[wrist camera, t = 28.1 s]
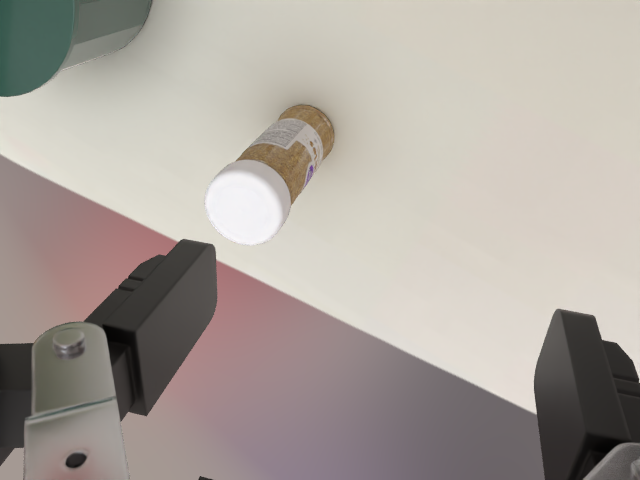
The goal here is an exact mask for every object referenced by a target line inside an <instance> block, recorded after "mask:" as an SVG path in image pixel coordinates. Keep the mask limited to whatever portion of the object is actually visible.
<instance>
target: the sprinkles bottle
mask: <svg viewBox="0 0 640 480" xmlns="http://www.w3.org/2000/svg"><path fill="white" fill-rule="evenodd" d="M333 143H334V132H333V129H332V126H331V123H330V121H329V120H328V119H327V117H326V116H325V115H324V114H323V113H321V112H320V111H319V110H317V109H315V108H313V107H311V106H308V105H298V106H293V107H291V108H289V109H287V110H286V111H285V112H284V113H283V114H281V116H280V117H279V119H278V120H277V121H276V122H275V123H273V124H272V125H271V126H270V127H269V128H268V129H267V130H266V131H265V132H264V133H263V134H262V135H260V136H259V137H258V138H257V139H256V140H255V141H254V142H253V143H252V144H251V145H250V146H249V147H248V148H247V149H246V150H245V151H244V152H243V153H242V155H241V156H240V157H239V158H238V159H237V160H236V161H235V162H233V163H231V164H229V165H227V166H226V167H225V168H224V169H223V170H221V171H220V172H219V173H218V174H217V175H216V177H215V178H214V179H213V180H212V181H211V182H210V184H209V186H208V188H207V190H206V193H205V209H206V213H207V216H208V218H209V220H210V222H211V224H212V225H213V226H214V228H215V229H216V230H217V231H218V232H219V233H220V234H221V235H223V236H224V237H225V238H227V239H229V240H231V241H233V242H235V243H238V244H242V245H258V244H262V243H265V242H267V241H268V240H270V239H271V238H273V237H274V236H275V235H276V234H277V232H278V231H279V230H280V228H281V227H282V226H283V224H284V223H285V221H286V219H287V217H288V215H289V212H290V208H291V205H292V204H293V203H294V201H295V199H296V198H297V196H298V195H299V194H300V193H301V192H302V190H303V189H304V187H305V186H306V185H307V183H308V182H309V180H310V179H311V177H312V176H313V174H314V173H315V172H316V170H317V169H318V167H319V165H320V163H321V161H322V160H323V159H324V158H325V157H326V156H327V155H328V154H329V152H330V151H331V149H332V146H333Z"/></svg>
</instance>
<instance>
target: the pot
mask: <svg viewBox="0 0 640 480" xmlns="http://www.w3.org/2000/svg"><path fill="white" fill-rule="evenodd" d="M151 2H152V0H79V24H78V32H77V36H76V40H75V44H74V47H73V49H72V52H71V54H70V56H69V59H68V60H67V62H66V63H65V65H64V67H63V68H62V70H61V71H63V70H66V69H69V68H72V67H74V66H77V65H80V64H83V63H86V62H89V61H91V60H94V59H97V58H100V57H102V56H105V55H107V54H109V53H112V52H115V51H117V50H119V49H122V48H123V47H125V46H126V45H127V44H128V43H129V42H130V41H131V40H132V39H133V38H134V37H135V36H136V35H137V34H138V32H139V31H140V29H141V28H142V27H143V25H144V23H145V20H146V18H147V16H148V13H149V10H150V7H151Z"/></svg>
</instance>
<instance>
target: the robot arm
mask: <svg viewBox="0 0 640 480" xmlns="http://www.w3.org/2000/svg"><path fill="white" fill-rule="evenodd" d="M216 276H217V275H216V251H215V247H214V245H212V244H208V243H203V242H198V241H192V240H187V239H182V240H181V241H180V242H179V243H178V244H177V245H176V246H175V247H174V248H173V249H172V250H171V251H170V252H169V253H168V254H167V255H166V256H164V255H157V256H155V257H153V258H151V259H149V260H147V261H145V262H143V263H141V264H140V265H139V266H138V267H137V268H136V269H135V270H134V271H133V272H132V273H131V274H130V275H129V277H128V279H125V280H124V281H123V282H122V283H121V284H120V285H119V288H118V289H115V290H114V291H113V292H112V293H111V294H110V296H108V297H107V298H106V299H105V300H104V301H103V302H102V303H101V304H100V305H99V306H98V307H97V308H96V309H95V310H94V311H93V312H92V314H90V315H89V316H88V318H86V320H85V321H84V322H70V323H65V324H61V325H59V326H56V327H53V328H51V329H49V330H47V331H46V332H44V333H43V334H42V335H40V336H39V337H38V338H37V339H36V341H35V342H34V343H27V344H26V343H25V344H0V466H1V464H2V463H3V462H4V461H5V459H6V458H7V457H8V456H9V454H10V453H11V452H12V451H13V449H14V448H24V478H23V480H130V475H129V469H128V463H127V457H126V451H125V445H124V439H123V433H122V428H121V421H122V420H123V418H124V417H125V415H126V414H127V413H128V412H132V413H135V414H139V415H144V416H147V415H148V413H149V412H150V410H151V409H152V407H153V405H154V404H155V403H156V401H157V400H158V398H159V397H160V395H161V394H162V393H163V391H164V389H165V388H166V386H167V385H168V384H169V382H170V381H171V379H172V378H173V376H174V375H175V373H176V372H177V370H178V369H179V367H180V366H181V364H182V363H183V361H184V360H185V358H186V357H187V355H188V354H189V352H190V351H191V349H192V348H193V346H194V345H195V343H196V342H197V340H198V339H199V337H200V336H201V334H202V333H203V331H204V330H205V329H206V327H207V325H208V324H209V322H210V321H211V319H212V317H213V315H214V312H215V308H216V303H217V277H216ZM534 393H535V401H536V409H537V417H538V426H539V434H540V442H541V451H542V459H543V467H544V475H545V480H640V383H639V378H638V375H637V372H636V369H635V366H634V364H633V361H632V360H631V359H630V358H629V356H628V355H627V354H626V353H625V352H624V351H623V350H622V349H621V347H620V346H619V345H618V344H617V343H614V342H609V341H604V340H602V339H601V335H600V332H599V329H598V325H597V322H596V319H595V317H594V316H593V315H589V314H583V313H578V312H573V311H567V310H562V309H557V310H556V311H555V312H554V314H553V317H552V320H551V323H550V326H549V328H548V331H547V334H546V337H545V340H544V343H543V346H542V349H541V352H540V355H539V358H538V361H537V365H536V369H535V376H534ZM199 480H212V479H208V478H204V477H201V476H200V478H199Z"/></svg>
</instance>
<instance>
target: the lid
mask: <svg viewBox="0 0 640 480" xmlns="http://www.w3.org/2000/svg"><path fill="white" fill-rule="evenodd" d="M78 24H79V0H0V97H10V96H19V95H22V94H26V93H29V92H32V91H35V90H37V89H38V88H40V87H42V86H44V85H46V84H47V83H48V82H50V81H51V80H52V79H53V78H54V77H55V76H56V75H57V74H58V73H59V72H60V71H61V70H62V68H63V67H64V65H65V63H66V62H67V60H68V59H69V56H70V54H71V52H72V49H73V47H74V44H75V40H76V36H77V32H78Z"/></svg>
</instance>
